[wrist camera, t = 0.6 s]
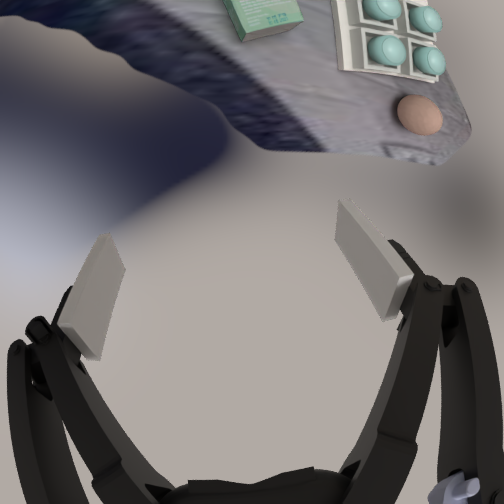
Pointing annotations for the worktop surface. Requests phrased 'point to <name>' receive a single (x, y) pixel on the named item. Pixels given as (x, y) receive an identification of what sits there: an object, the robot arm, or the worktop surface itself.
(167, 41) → the worktop surface
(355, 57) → the board
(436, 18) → the button
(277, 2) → the box
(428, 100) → the egg
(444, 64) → the button
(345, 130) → the worktop surface
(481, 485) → the robot arm
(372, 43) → the button
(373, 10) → the button
